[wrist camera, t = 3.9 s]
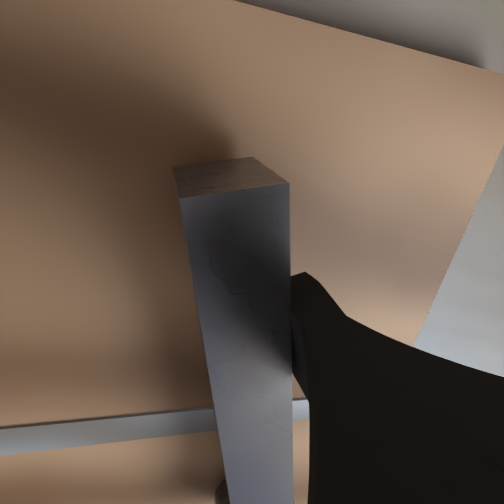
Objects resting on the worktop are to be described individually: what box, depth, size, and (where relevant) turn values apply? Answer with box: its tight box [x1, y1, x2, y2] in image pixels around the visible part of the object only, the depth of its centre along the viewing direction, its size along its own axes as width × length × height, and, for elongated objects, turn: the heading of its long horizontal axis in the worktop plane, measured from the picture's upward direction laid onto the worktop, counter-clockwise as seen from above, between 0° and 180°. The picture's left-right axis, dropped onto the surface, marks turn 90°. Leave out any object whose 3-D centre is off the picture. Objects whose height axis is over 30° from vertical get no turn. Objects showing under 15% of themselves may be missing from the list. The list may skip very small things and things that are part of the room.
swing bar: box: [172, 157, 295, 504], centre depth 11 cm, size 16×3×3 cm, turn 4°
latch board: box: [0, 0, 504, 504], centre depth 12 cm, size 22×24×2 cm
